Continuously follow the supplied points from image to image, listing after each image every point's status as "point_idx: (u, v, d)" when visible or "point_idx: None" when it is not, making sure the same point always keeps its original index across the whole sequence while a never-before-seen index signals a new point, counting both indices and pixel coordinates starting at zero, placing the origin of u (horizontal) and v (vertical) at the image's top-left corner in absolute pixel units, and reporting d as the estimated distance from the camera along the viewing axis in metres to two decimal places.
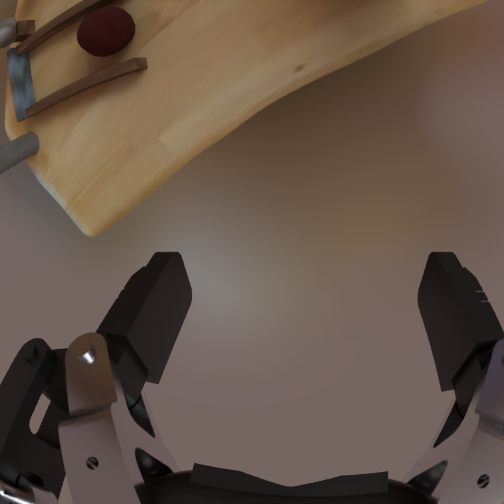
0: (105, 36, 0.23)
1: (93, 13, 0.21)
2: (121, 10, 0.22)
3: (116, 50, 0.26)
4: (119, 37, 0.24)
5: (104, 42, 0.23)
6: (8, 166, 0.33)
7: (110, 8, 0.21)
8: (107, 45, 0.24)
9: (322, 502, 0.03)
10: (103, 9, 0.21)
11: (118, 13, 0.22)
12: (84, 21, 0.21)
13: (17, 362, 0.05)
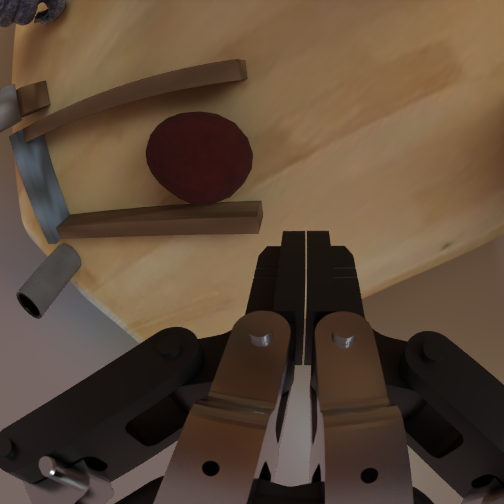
0: (217, 191, 0.19)
1: (183, 130, 0.18)
2: (236, 131, 0.19)
3: None
4: (237, 187, 0.21)
5: (214, 198, 0.20)
6: None
7: (216, 125, 0.18)
8: (217, 200, 0.21)
9: None
10: (203, 124, 0.18)
11: (237, 144, 0.18)
12: (166, 144, 0.18)
13: (148, 347, 0.06)
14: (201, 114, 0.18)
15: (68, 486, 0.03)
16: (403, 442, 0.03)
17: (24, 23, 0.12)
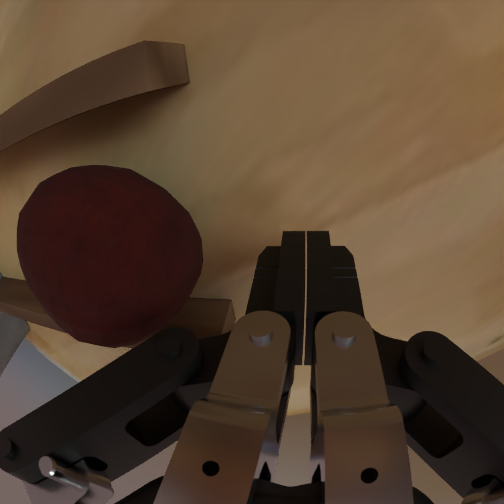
0: (127, 342, 0.09)
1: (42, 225, 0.07)
2: (151, 215, 0.08)
3: None
4: (170, 319, 0.10)
5: (127, 345, 0.10)
6: None
7: (103, 208, 0.08)
8: None
9: None
10: (75, 211, 0.07)
11: (150, 254, 0.08)
12: (24, 252, 0.07)
13: (148, 347, 0.06)
14: (81, 178, 0.08)
15: (68, 486, 0.03)
16: (402, 442, 0.03)
17: None
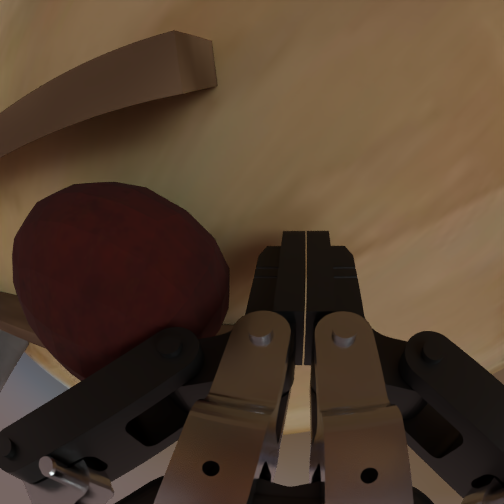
0: None
1: (42, 260, 0.06)
2: (178, 248, 0.07)
3: None
4: None
5: None
6: None
7: (118, 242, 0.06)
8: None
9: None
10: (83, 244, 0.06)
11: (180, 298, 0.07)
12: (22, 288, 0.06)
13: (148, 347, 0.06)
14: (88, 201, 0.07)
15: (68, 486, 0.03)
16: (402, 442, 0.03)
17: None
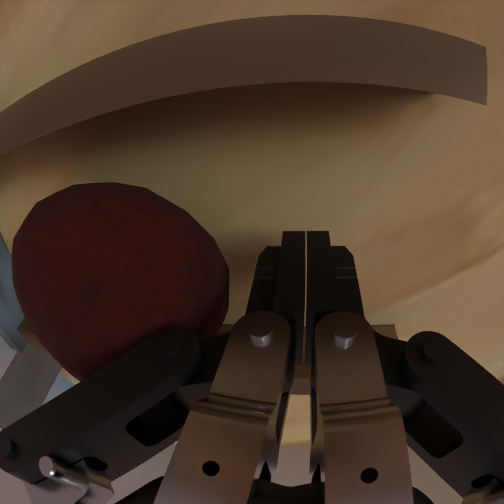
0: None
1: (42, 260, 0.06)
2: (178, 248, 0.07)
3: None
4: None
5: None
6: None
7: (119, 242, 0.06)
8: None
9: None
10: (83, 244, 0.06)
11: (180, 298, 0.07)
12: (21, 289, 0.06)
13: (148, 347, 0.06)
14: (88, 201, 0.07)
15: (68, 486, 0.03)
16: (402, 442, 0.03)
17: None
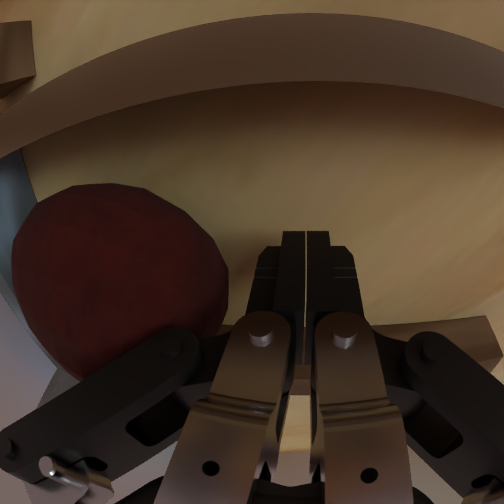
0: None
1: (42, 261, 0.06)
2: (178, 248, 0.07)
3: None
4: None
5: None
6: None
7: (118, 242, 0.06)
8: None
9: None
10: (82, 245, 0.06)
11: (180, 298, 0.07)
12: (21, 290, 0.06)
13: (148, 347, 0.06)
14: (88, 202, 0.07)
15: (68, 486, 0.03)
16: (402, 442, 0.03)
17: None
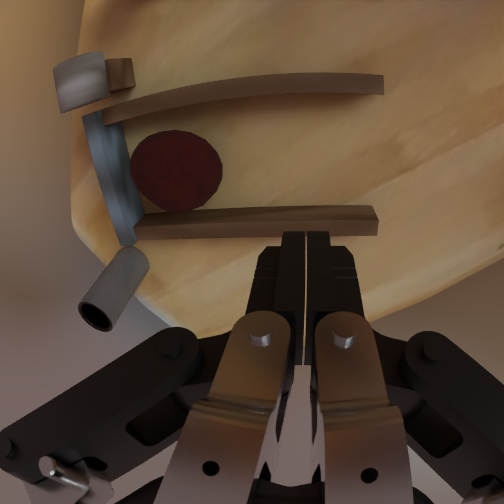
0: (189, 201, 0.22)
1: (159, 148, 0.20)
2: (205, 147, 0.22)
3: None
4: (207, 196, 0.23)
5: (187, 206, 0.23)
6: (119, 315, 0.29)
7: (188, 142, 0.21)
8: (190, 208, 0.23)
9: None
10: (176, 143, 0.21)
11: (206, 159, 0.21)
12: (145, 160, 0.21)
13: (148, 347, 0.06)
14: (175, 133, 0.21)
15: (68, 485, 0.03)
16: (403, 442, 0.03)
17: None
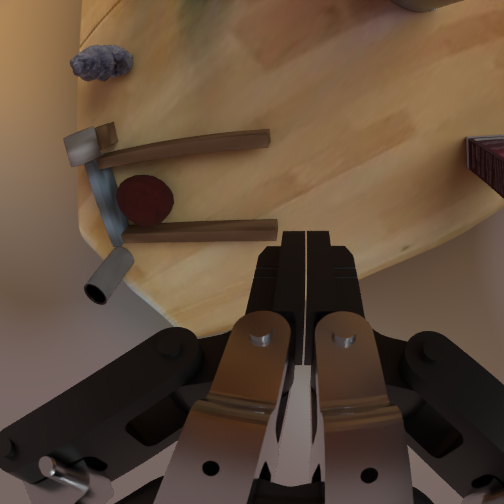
0: (150, 220, 0.36)
1: (132, 189, 0.34)
2: (159, 187, 0.35)
3: None
4: (163, 217, 0.37)
5: (150, 223, 0.36)
6: None
7: (148, 185, 0.34)
8: (152, 224, 0.37)
9: None
10: (141, 185, 0.34)
11: (159, 195, 0.35)
12: (124, 196, 0.34)
13: (148, 347, 0.06)
14: (142, 178, 0.35)
15: (68, 486, 0.03)
16: (402, 442, 0.03)
17: (103, 80, 0.26)
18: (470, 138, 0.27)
